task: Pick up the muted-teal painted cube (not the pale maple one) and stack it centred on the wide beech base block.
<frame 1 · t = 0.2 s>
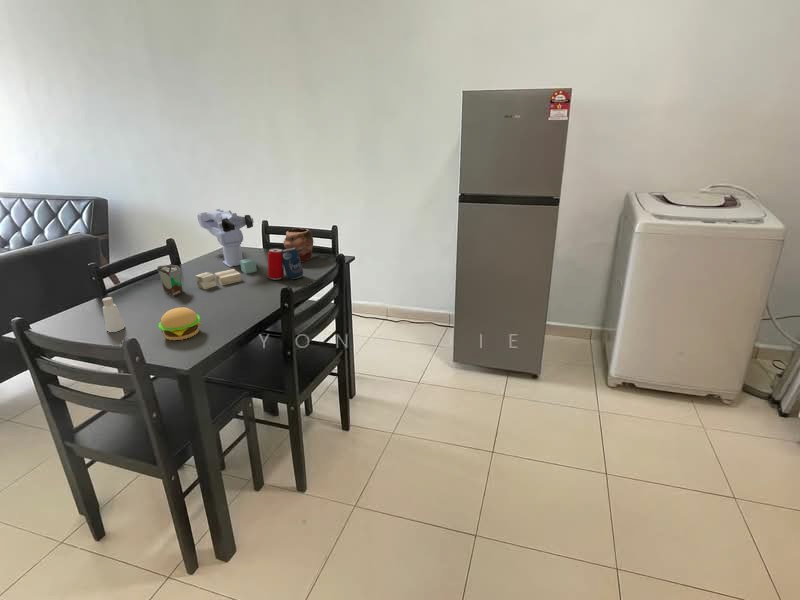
hand: (242, 225, 187), 21 cm above the table, tool horizontal, fingers open, 7 cm apart
pepper shaker: (116, 330, 148), on the table
decorative planter: (302, 258, 214), on the table
beech base: (228, 281, 188), on the table
soda can: (295, 277, 189), on the table, touching beverage can
maple cube: (207, 286, 183), on the table
teal cube: (249, 271, 199), on the table
food container: (176, 292, 178), on the table
hamburger: (182, 335, 143), on the table
beverage can: (275, 278, 189), on the table, touching soda can
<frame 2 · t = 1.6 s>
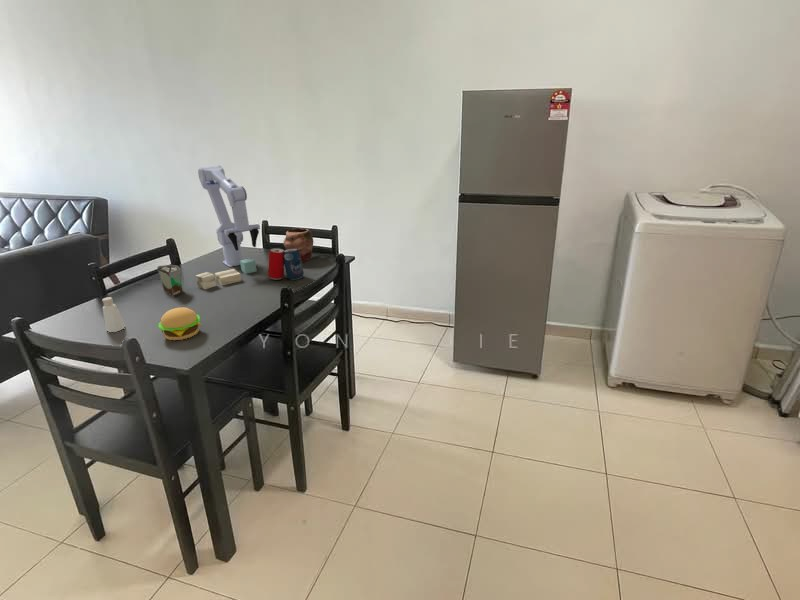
hand: (245, 248, 195), 10 cm above the table, tool pointing down, fingers open, 7 cm apart
beverage can: (275, 278, 188), on the table, touching soda can
everything else where it was.
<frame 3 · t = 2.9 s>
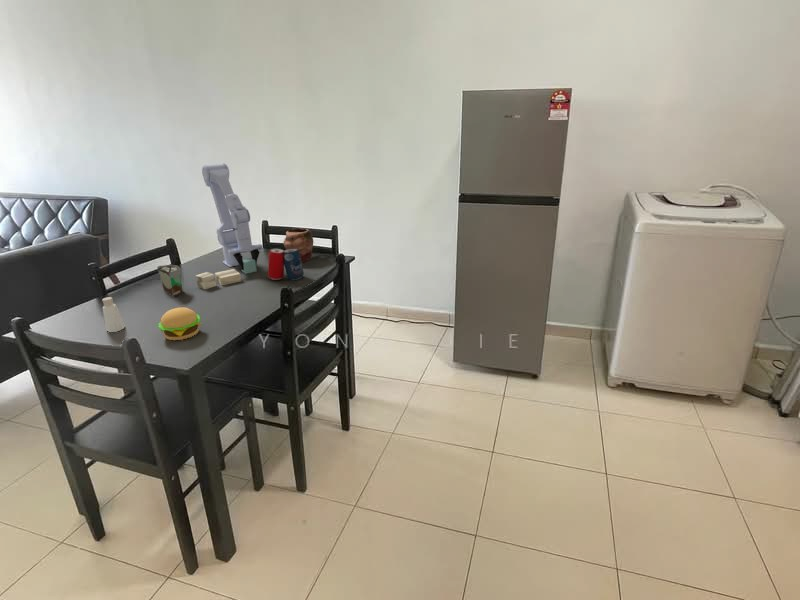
hand: (248, 268, 198), 1 cm above the table, tool pointing down, fingers closed on teal cube, 5 cm apart
teal cube: (249, 271, 199), on the table, touching gripper
beverage can: (275, 278, 188), on the table, touching soda can
everything else where it was.
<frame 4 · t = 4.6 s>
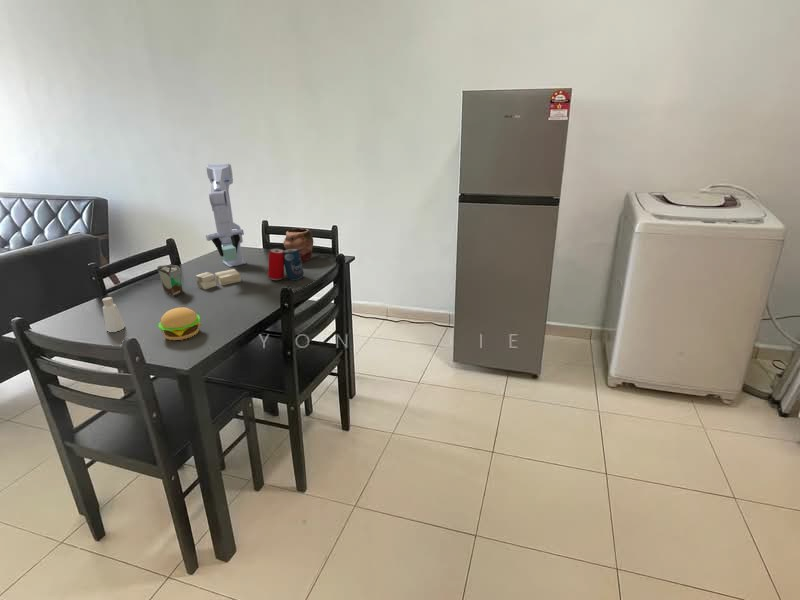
hand: (228, 254, 186), 11 cm above the table, tool pointing down, fingers closed on teal cube, 5 cm apart
teal cube: (229, 259, 187), point 9 cm above the table, touching gripper
everything else where it was.
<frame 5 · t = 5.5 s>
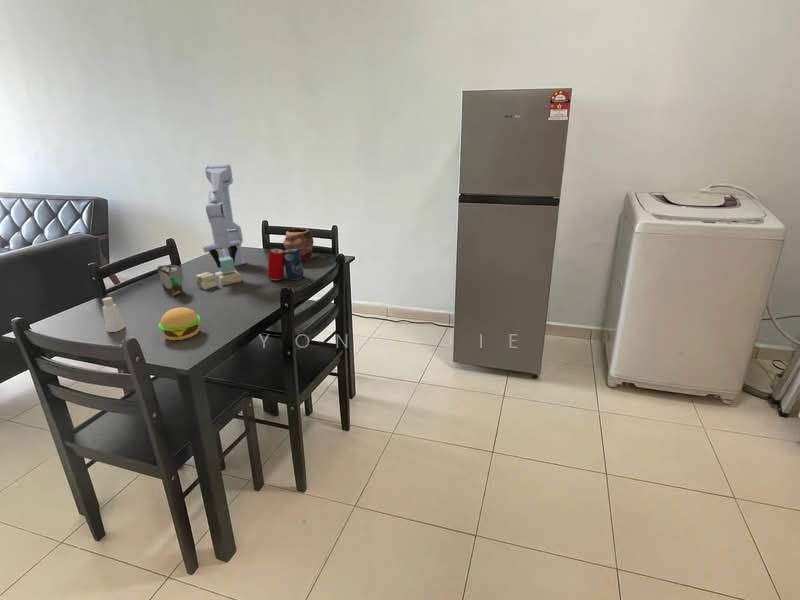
hand: (225, 265, 186), 6 cm above the table, tool pointing down, fingers closed on teal cube, 5 cm apart
teal cube: (227, 270, 186), point 4 cm above the table, touching gripper
everything else where it was.
when the fingers open (6 cm above the table, at t = 6.1 s): teal cube stays where it is, resting on beech base.
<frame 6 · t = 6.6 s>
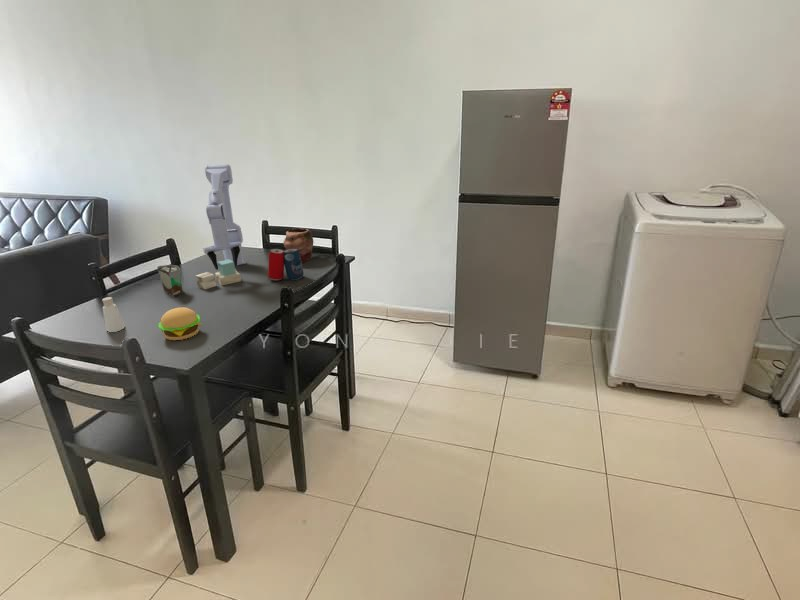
hand: (226, 267, 186), 6 cm above the table, tool pointing down, fingers open, 7 cm apart
beech base: (228, 281, 188), on the table, touching teal cube
teal cube: (227, 273, 187), point 3 cm above the table, touching beech base
everything else where it was.
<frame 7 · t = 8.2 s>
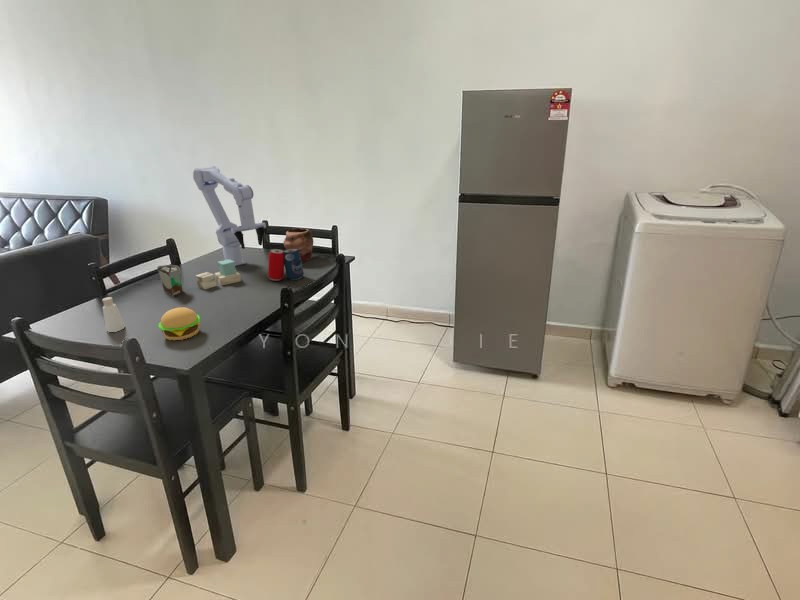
hand: (251, 246, 197), 10 cm above the table, tool pointing down, fingers open, 7 cm apart
nothing on the table moved.
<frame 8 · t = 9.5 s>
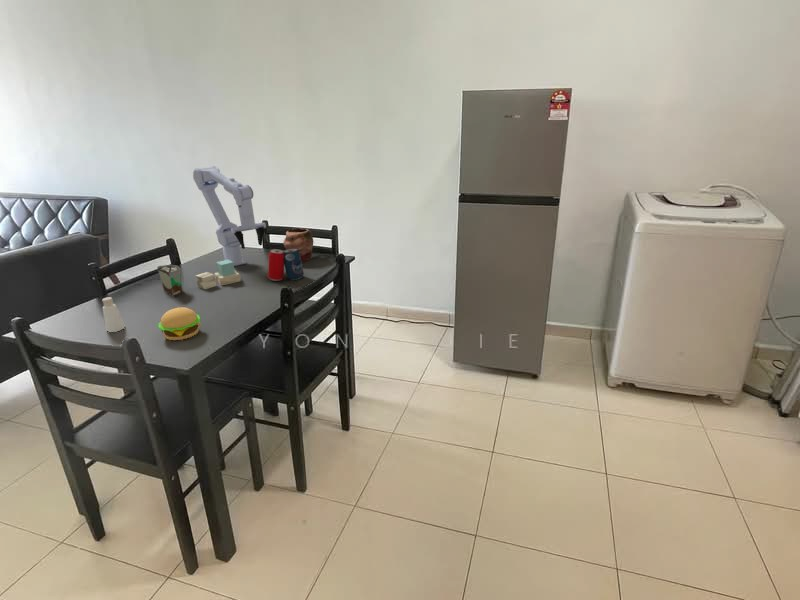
hand: (251, 246, 197), 10 cm above the table, tool pointing down, fingers open, 7 cm apart
nothing on the table moved.
at the end: teal cube 0.2 cm off-centre on the beech base, point 3.5 cm above the beech base's base; teal cube tilted 0°; maple cube moved 0.1 cm from its start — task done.
